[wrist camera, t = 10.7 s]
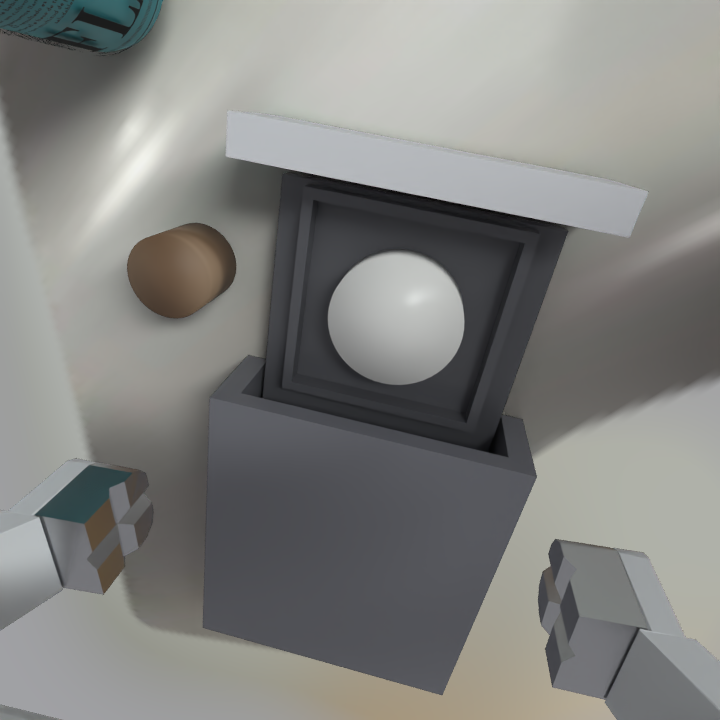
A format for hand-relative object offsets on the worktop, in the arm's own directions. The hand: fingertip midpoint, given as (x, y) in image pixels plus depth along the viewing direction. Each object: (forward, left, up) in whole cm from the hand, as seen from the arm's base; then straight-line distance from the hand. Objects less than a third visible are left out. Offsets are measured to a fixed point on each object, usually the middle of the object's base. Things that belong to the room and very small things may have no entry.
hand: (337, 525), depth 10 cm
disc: (0, +1, -16) cm, 16 cm away
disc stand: (+11, +1, -17) cm, 20 cm away
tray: (0, +2, -17) cm, 17 cm away
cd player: (0, +15, -17) cm, 23 cm away
